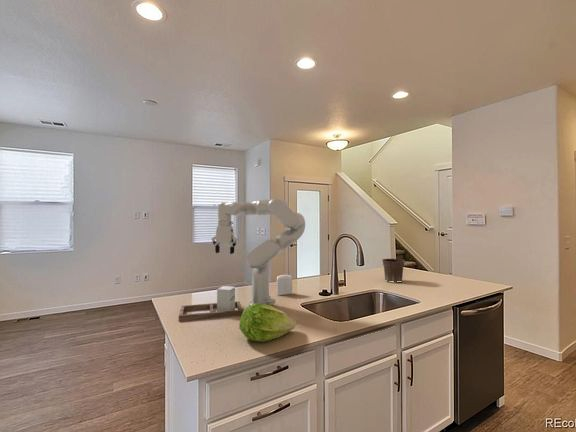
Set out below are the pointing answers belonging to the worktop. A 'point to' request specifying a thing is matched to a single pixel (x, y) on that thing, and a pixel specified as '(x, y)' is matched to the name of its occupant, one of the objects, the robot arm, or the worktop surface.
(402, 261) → the plant pot
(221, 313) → the tray
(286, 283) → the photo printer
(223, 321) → the worktop surface
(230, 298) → the supplement box
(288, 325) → the lettuce
